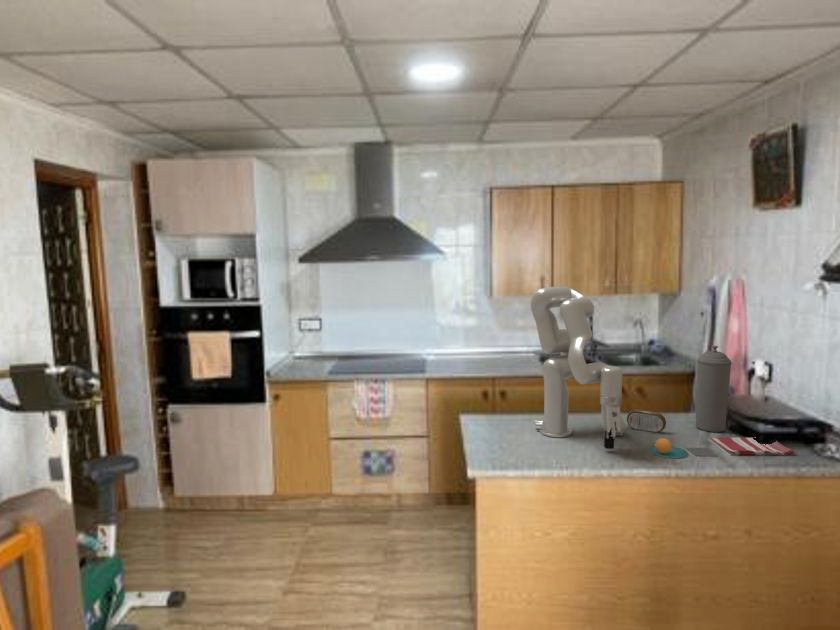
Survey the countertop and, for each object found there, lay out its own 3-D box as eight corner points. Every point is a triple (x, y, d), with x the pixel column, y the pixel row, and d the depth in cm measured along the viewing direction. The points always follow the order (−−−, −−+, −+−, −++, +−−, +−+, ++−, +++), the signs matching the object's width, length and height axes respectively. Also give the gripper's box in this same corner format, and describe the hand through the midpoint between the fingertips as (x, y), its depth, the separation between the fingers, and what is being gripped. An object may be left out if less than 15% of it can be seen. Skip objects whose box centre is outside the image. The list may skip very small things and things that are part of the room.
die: (622, 441, 220) (633, 419, 222) (603, 429, 221) (613, 408, 223) (615, 441, 228) (625, 420, 230) (596, 430, 229) (607, 410, 231)
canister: (694, 431, 228) (698, 347, 223) (692, 422, 239) (696, 342, 235) (729, 435, 223) (734, 349, 219) (725, 425, 235) (730, 344, 230)
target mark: (648, 455, 203) (648, 454, 203) (651, 443, 214) (651, 443, 214) (688, 460, 197) (688, 460, 197) (688, 448, 209) (688, 448, 209)
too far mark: (695, 456, 201) (695, 455, 201) (686, 448, 209) (686, 447, 209) (718, 456, 201) (718, 455, 201) (708, 448, 209) (708, 447, 209)
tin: (665, 432, 227) (666, 412, 226) (664, 435, 224) (665, 414, 223) (627, 426, 235) (628, 407, 234) (625, 428, 232) (626, 409, 231)
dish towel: (795, 457, 201) (796, 450, 201) (730, 457, 201) (731, 450, 201) (767, 440, 218) (768, 434, 217) (707, 441, 218) (707, 434, 218)
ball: (656, 438, 202) (672, 437, 202) (652, 438, 208) (667, 437, 207) (658, 454, 201) (674, 453, 200) (654, 454, 206) (670, 453, 206)
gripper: (627, 405, 197) (625, 455, 199) (614, 394, 212) (613, 440, 214) (606, 405, 197) (604, 455, 199) (594, 394, 212) (593, 440, 214)
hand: (609, 447), depth 207 cm, fingers closed
